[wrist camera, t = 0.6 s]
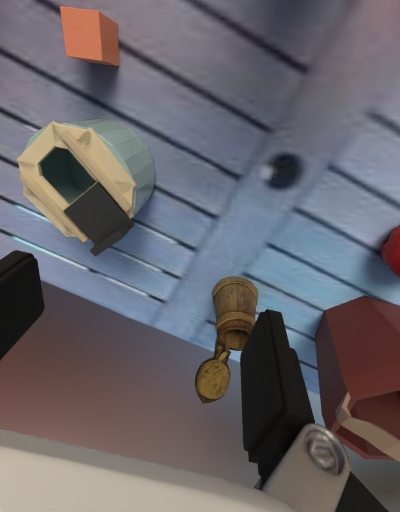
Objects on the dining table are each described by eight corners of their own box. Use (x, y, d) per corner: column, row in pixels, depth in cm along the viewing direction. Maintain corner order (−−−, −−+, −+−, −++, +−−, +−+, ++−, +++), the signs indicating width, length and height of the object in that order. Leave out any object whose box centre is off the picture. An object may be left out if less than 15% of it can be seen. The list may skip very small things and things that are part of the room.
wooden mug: (192, 311, 54) (177, 393, 39) (229, 268, 48) (229, 347, 32) (227, 329, 56) (225, 414, 41) (267, 291, 49) (283, 376, 34)
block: (88, 62, 33) (66, 56, 29) (84, 19, 31) (59, 6, 27) (119, 66, 33) (102, 61, 29) (117, 23, 31) (98, 10, 26)
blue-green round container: (48, 157, 40) (-1, 171, 32) (110, 95, 35) (71, 93, 26) (112, 227, 46) (84, 255, 37) (173, 182, 40) (158, 204, 32)
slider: (64, 209, 33) (51, 218, 30) (98, 181, 30) (86, 188, 28) (101, 247, 35) (91, 259, 33) (135, 224, 33) (127, 234, 30)
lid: (6, 173, 32) (-3, 176, 30) (72, 102, 27) (64, 102, 26) (84, 250, 37) (79, 256, 35) (151, 203, 32) (148, 207, 30)
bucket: (277, 320, 53) (307, 466, 32) (379, 256, 43) (523, 406, 22) (346, 375, 60) (410, 527, 38) (449, 331, 50) (611, 502, 28)
